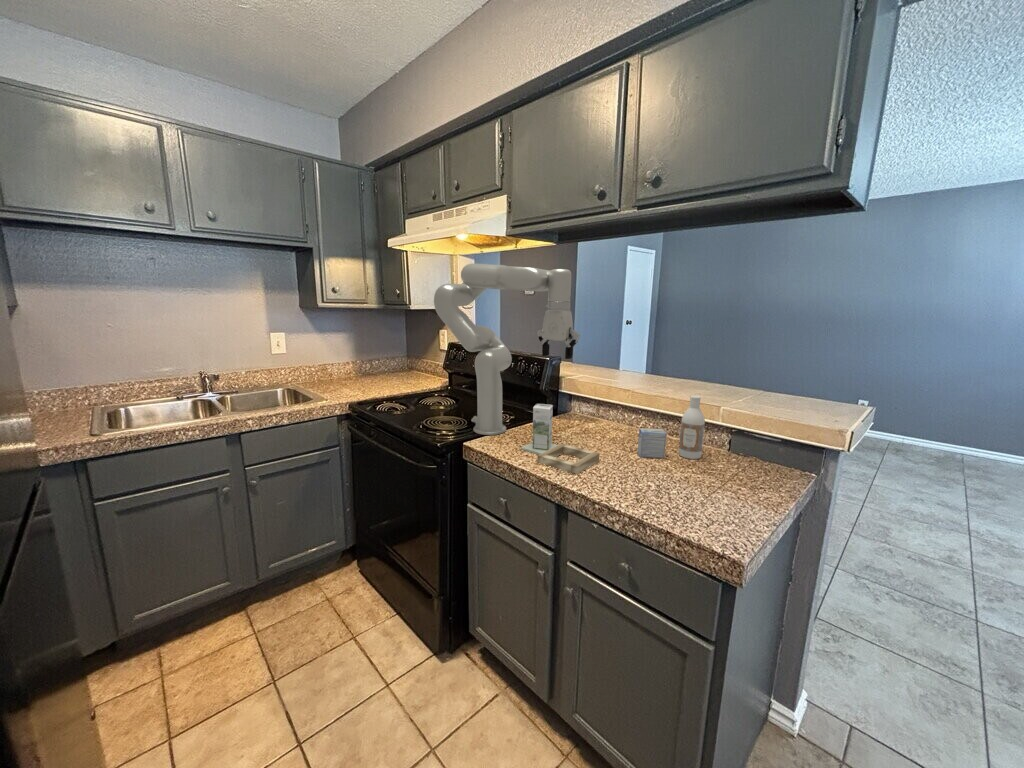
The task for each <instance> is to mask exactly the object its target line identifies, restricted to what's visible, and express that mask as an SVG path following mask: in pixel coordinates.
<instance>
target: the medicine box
mask: <svg viewBox="0 0 1024 768" xmlns="http://www.w3.org/2000/svg"><path fill="white" fill-rule="evenodd" d="M667 435H668V434H667V432H666V431H665V430H664V429H663V428H648V427H647V428H642V427H641V428H638V439H637V441H638V442H637V454H638V456H639V457H640V458H657V459H658V458H659V459H665V457H666V456H665V455H666V445H667Z"/></svg>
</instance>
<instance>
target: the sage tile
mask: <svg viewBox="0 0 1024 768" xmlns="http://www.w3.org/2000/svg"><path fill="white" fill-rule="evenodd" d="M558 445H559V444H555V443H552V445H551V447H550V449H551V448H553V447H556V446H558ZM520 450H521V451H524V450H525V452H527V451H528V453H531V452H532V453H531V454H534V455H538V454H541V453H543V452H545V451H547V450H543V449H534V448H533V441H532V442H530V443H528V444H526V445H524V446H521V447H520Z"/></svg>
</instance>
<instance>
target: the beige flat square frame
mask: <svg viewBox="0 0 1024 768" xmlns="http://www.w3.org/2000/svg"><path fill="white" fill-rule="evenodd" d="M557 445H558V446H556V447H553V448H551V449H549V450H547V451H545V452H543V453H541V454H539V455H538V454H537V464H539V463H541V464H540V465H543V464H545V465H544V466H546V465H548V466H547V467H549V466H551V467H550V468H553V467H554V468H553V469H556V468H557V470H559V469H561V470H560V471H563V470H564V471H563V472H566V471H567V473H569V472H571V473H570V474H573V473H575V474H574V475H576V474H577V475H579V474H580V473H582V472H583V471H585V470H586V468H587V469H588V468H590V467H591V466H593V465H594V464H596V463H597V462H599V461H600V453H599V452H596V451H592V450H589V449H586V448H585V449H584V448H581V447H577V446H573V445H570V444H565V443H560V444H557ZM563 453H564V454H563ZM561 454H562V455H566V456H570V455H571V457H574V456H575V457H574V458H578V459H579V460H577V461H575V462H573V461H569V460H565V459H562V458H559V455H560V456H562V455H561ZM557 456H558V457H557ZM555 457H556V458H555ZM581 458H582V459H581ZM589 466H590V467H589ZM584 469H585V470H584ZM581 471H582V472H581ZM579 472H580V473H579ZM578 473H579V474H578Z"/></svg>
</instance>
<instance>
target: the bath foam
mask: <svg viewBox="0 0 1024 768" xmlns="http://www.w3.org/2000/svg"><path fill="white" fill-rule="evenodd" d="M700 406H701V396H699V395H690V401H689V407H688V408H687V409H686V410H685V412H684V413H683V414H682V417H681V423H680V432H679V445H678V455H679V456H680V457H682V458H683V459H688V460H698V459H700V458H701V457H702V453H703V447H704V446H703V444H704V434H705V428H706V427H705V425H706V421H705V420H706V419H705V416H704V413H703V411H702V410H701V408H700Z"/></svg>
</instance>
